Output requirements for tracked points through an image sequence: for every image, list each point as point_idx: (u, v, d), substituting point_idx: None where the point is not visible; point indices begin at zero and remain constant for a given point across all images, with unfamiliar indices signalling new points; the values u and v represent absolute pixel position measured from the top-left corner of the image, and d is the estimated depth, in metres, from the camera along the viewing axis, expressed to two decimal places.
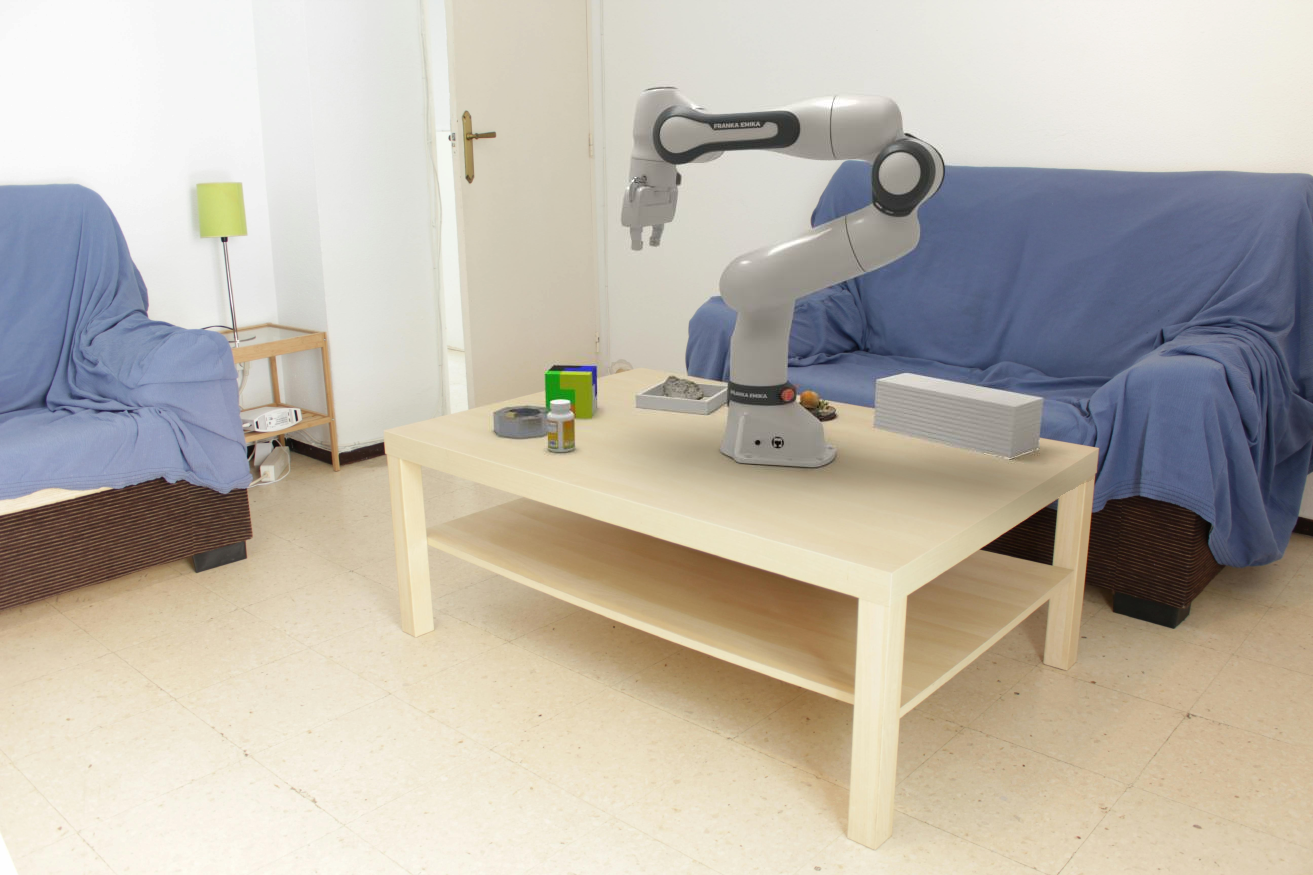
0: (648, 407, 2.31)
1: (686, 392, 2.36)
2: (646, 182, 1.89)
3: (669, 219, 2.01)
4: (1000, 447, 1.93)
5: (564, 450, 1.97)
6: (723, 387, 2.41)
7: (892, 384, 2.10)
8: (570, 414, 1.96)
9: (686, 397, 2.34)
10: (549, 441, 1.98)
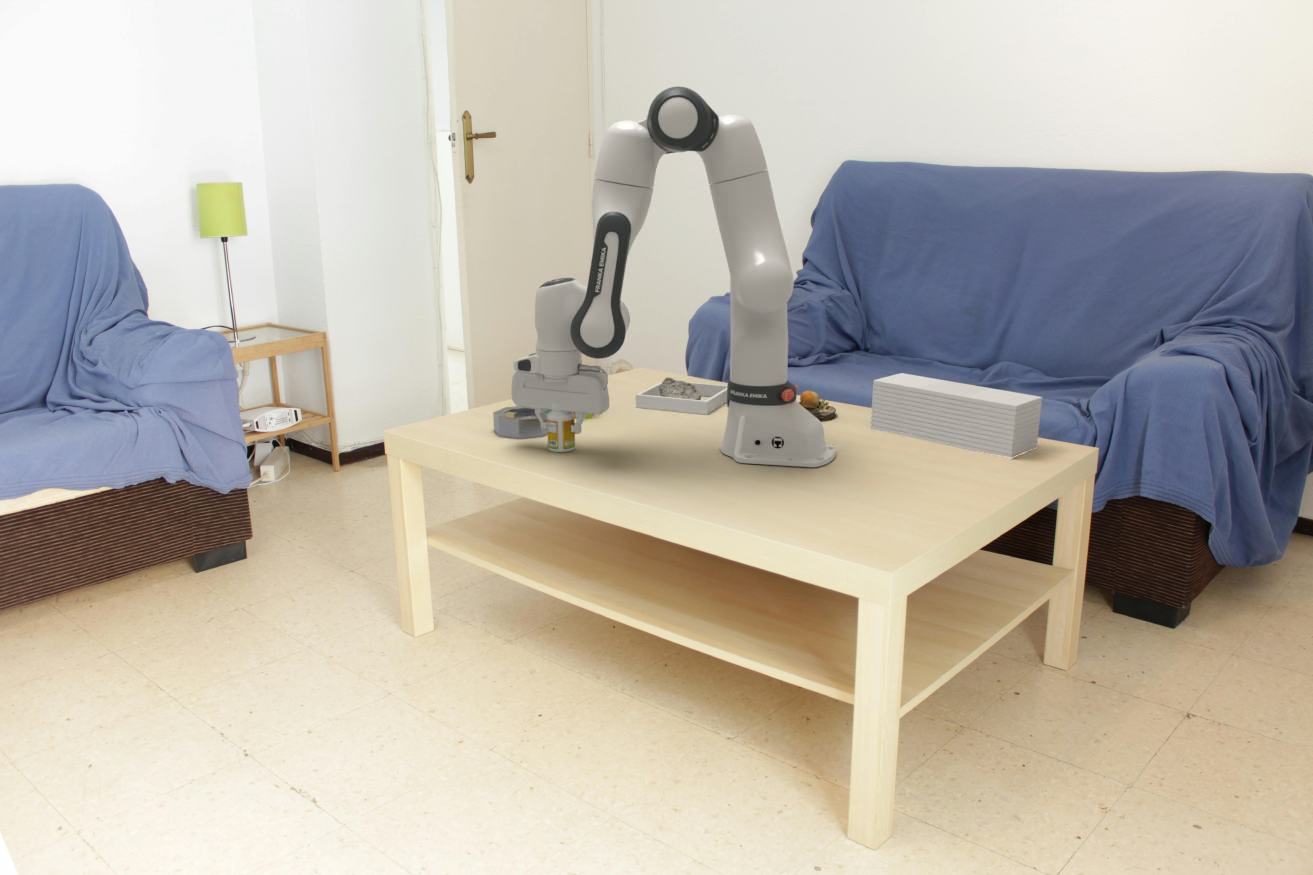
0: (648, 407, 2.31)
1: (683, 394, 2.34)
2: None
3: None
4: (1001, 446, 1.94)
5: (564, 450, 1.97)
6: (723, 387, 2.41)
7: (890, 384, 2.09)
8: (570, 414, 1.96)
9: None
10: (549, 441, 1.98)
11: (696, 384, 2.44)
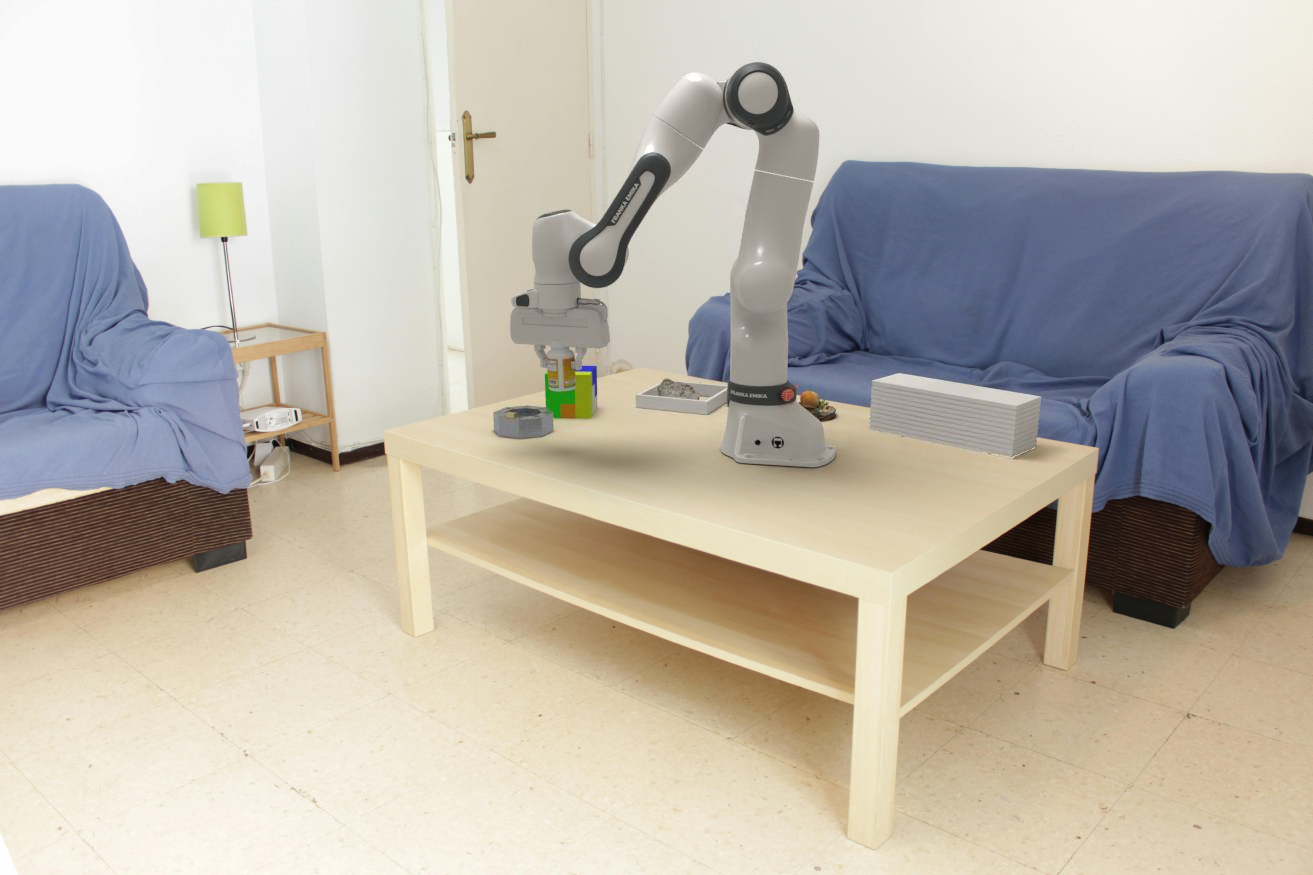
0: (648, 407, 2.31)
1: (682, 395, 2.33)
2: None
3: None
4: (1001, 446, 1.94)
5: (565, 389, 1.94)
6: (723, 387, 2.41)
7: (889, 385, 2.09)
8: (570, 352, 1.93)
9: None
10: (549, 380, 1.94)
11: (696, 384, 2.44)
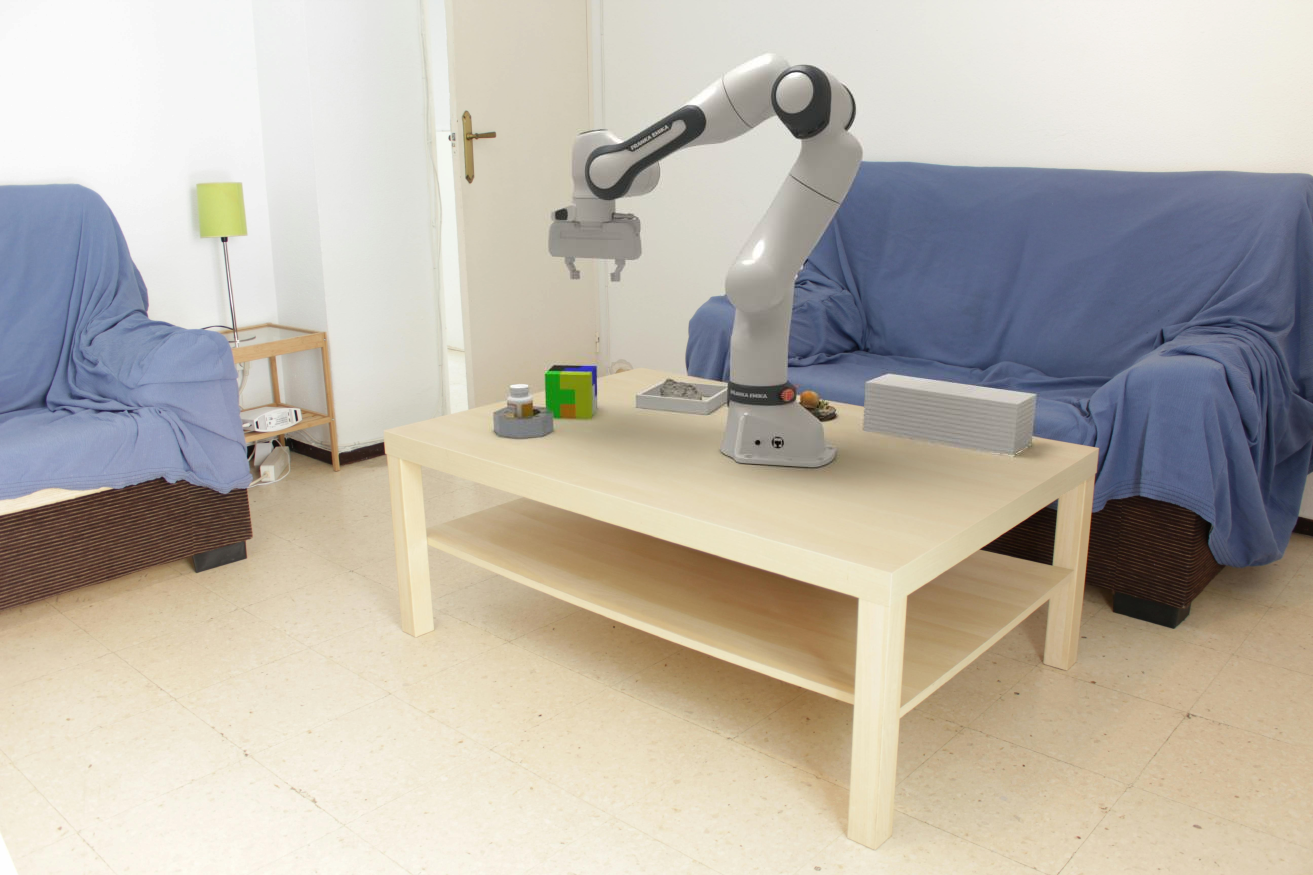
0: (648, 407, 2.31)
1: (685, 395, 2.33)
2: None
3: None
4: (1002, 445, 1.95)
5: None
6: (723, 387, 2.41)
7: (883, 386, 2.08)
8: (529, 398, 2.10)
9: None
10: None
11: (696, 384, 2.44)
